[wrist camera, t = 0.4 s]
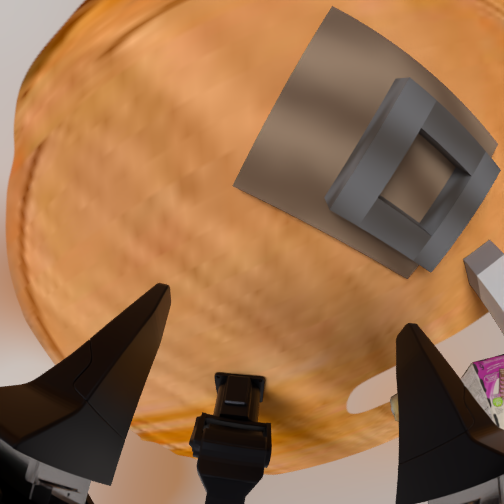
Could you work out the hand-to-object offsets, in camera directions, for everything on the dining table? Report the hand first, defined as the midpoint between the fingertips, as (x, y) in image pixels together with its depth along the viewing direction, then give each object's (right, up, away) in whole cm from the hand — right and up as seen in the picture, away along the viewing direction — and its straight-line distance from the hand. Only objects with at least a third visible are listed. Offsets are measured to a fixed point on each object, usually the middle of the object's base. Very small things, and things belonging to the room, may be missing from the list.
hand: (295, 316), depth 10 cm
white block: (+23, +1, +14) cm, 27 cm away
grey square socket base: (+9, +10, +10) cm, 16 cm away
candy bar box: (+39, -17, +23) cm, 48 cm away
